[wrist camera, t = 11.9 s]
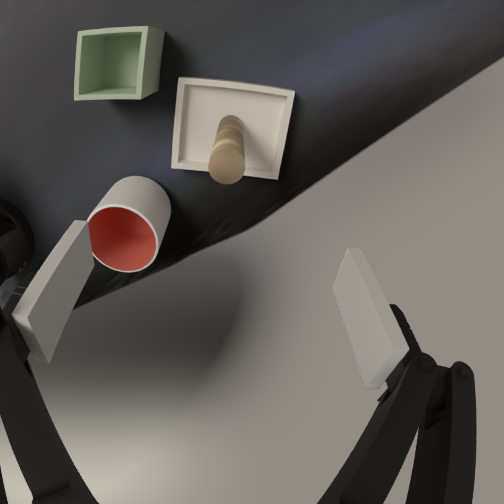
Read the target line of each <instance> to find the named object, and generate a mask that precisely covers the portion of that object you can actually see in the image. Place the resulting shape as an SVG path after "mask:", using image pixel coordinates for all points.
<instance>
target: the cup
mask: <svg viewBox="0 0 504 504" xmlns="http://www.w3.org/2000/svg"><path fill="white" fill-rule="evenodd" d="M170 215H171V205H170V201H169V198H168V196H167V194H166V192H165V191H164V189H163V188H162V187H161V186H160V185H159V184H158V183H156V182H155V181H153V180H151V179H149V178H146V177H142V176H130V177H126V178H123V179H121V180H119V181H118V182H116V183H115V184H114V185H113V186H112V188H111V189H110V190H109V191H108V193H107V194H106V195H105V196H104V198H103V199H102V200H101V201H100V203H99V204H98V205H97V207H96V208H95V209H94V211H93V212H92V213H91V215H90V216H89V217H88V219H87V221H88V227H89V234H90V241H91V248H92V254H93V255H94V256H95V258H96V259H97V260H99V261H100V262H101V263H102V264H104V265H105V266H107V267H109V268H111V269H114V270H117V271H121V272H136V271H140V270H142V269H144V268H146V267H148V266H149V265H150V264H151V263H152V262H153V261H154V260H155V258H156V256H157V254H158V251H159V248H160V245H161V242H162V239H163V236H164V233H165V230H166V228H167V225H168V222H169V219H170Z"/></svg>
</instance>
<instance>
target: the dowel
mask: <svg viewBox="0 0 504 504" xmlns="http://www.w3.org/2000/svg"><path fill="white" fill-rule="evenodd" d="M208 170H209V173H210V175H211V177H212V178H213V179H214V180H215V181H217V182H219V183H222V184H232V183H235V182H237V181H238V180H240V179H241V178H242V176H243V174H244V172H245V154H244V139H243V125H242V122H241V120H240V119H239V118H238V117H237V116H234V115H228V116H225V117H223V118H222V119H221V121H220V123H219V126H218V130H217V134H216V137H215V141H214V145H213V148H212V152H211V156H210V160H209V164H208Z"/></svg>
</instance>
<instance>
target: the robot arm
mask: <svg viewBox="0 0 504 504" xmlns="http://www.w3.org/2000/svg"><path fill="white" fill-rule="evenodd" d="M33 253H34V240H33V235H32V232H31V230H30V227H29V225H28V223H27V222H26V220H25V218H24V217H23V216H22V214H21V213H20V212H19V211H18V210H17V209H16V208H15V207H14V206H13V205H11V204H10V203H8V202H7V201H5V200H2V199H0V286H1V285H2V283H3V282H4V281H5V280H7V279H8V278H10V277H11V276H13V275H15V274H16V273H18V272H19V271H21V270H22V269H24V268H25V267H26V265H27V264H28V262H29V261H30V260H31V258H32V256H33ZM93 267H94V260H93V254H92V248H91V241H90V234H89V227H88V221H78V220H74V222H73V223H72V224H71V226H70V227H69V228H68V230H67V231H66V232H65V234H64V235H63V236H62V238H61V239H60V240H59V242H58V243H57V245H56V246H55V247H54V249H53V250H52V252H51V253H50V255H49V256H48V257H47V259H46V260H45V262H44V263H43V265H42V266H41V268H40V269H39V271H38V272H34V271H31V272H30V273H28V274H27V275H26V276H25V277H23V279H22V280H21V282H20V283H19V285H18V287H17V288H16V289H15V291H14V294H12V296H11V297H10V299H9V300H8V302H7V304H6V305H5V307H4V308H3V310H2V309H1V307H0V415H1V418H2V421H3V424H4V427H5V430H6V433H7V436H8V439H9V442H10V444H11V447H12V450H13V452H14V455H15V457H16V460H17V462H18V464H19V467H20V469H21V471H22V473H23V476H24V478H25V480H26V482H27V485H28V487H29V489H30V491H31V492H32V495H33V501H32V504H99V503H98V502H97V501H96V499H95V498H94V496H93V495H92V493H91V492H90V490H89V489H88V487H87V485H86V484H85V482H84V481H83V479H82V477H81V476H80V474H79V472H78V470H77V469H76V467H75V465H74V463H73V461H72V460H71V458H70V456H69V454H68V452H67V451H66V448H65V446H64V444H63V443H62V440H61V439H60V436H59V434H58V432H57V430H56V428H55V426H54V424H53V422H52V419H51V417H50V415H49V413H48V410H47V408H46V406H45V403H44V401H43V398H42V396H41V394H40V391H39V388H38V386H37V383H36V380H35V378H34V375H33V372H32V370H31V366H30V364H29V362H28V360H27V357H28V355H29V353H30V352H31V354H32V356H33V358H34V360H37V361H40V362H44V363H48V364H49V363H50V361H51V358H52V356H53V353H54V350H55V348H56V346H57V343H58V341H59V339H60V336H61V334H62V332H63V329H64V327H65V325H66V323H67V320H68V318H69V316H70V314H71V312H72V310H73V307H74V305H75V303H76V301H77V299H78V297H79V295H80V293H81V291H82V289H83V287H84V285H85V283H86V281H87V279H88V277H89V275H90V273H91V271H92V269H93ZM332 290H333V292H334V295H335V298H336V301H337V304H338V307H339V310H340V313H341V316H342V319H343V322H344V325H345V328H346V331H347V334H348V337H349V341H350V344H351V347H352V350H353V353H354V357H355V360H356V363H357V366H358V370H359V373H360V377H361V380H362V383H363V387H364V389H365V390H366V389H378V388H380V387H381V386H382V385H383V383H384V382H385V381H386V383H387V386H388V388H387V390H386V391H385V392H384V393H383V394H382V396H381V397H380V398H379V399H378V401H380V402H379V404H378V406H377V408H376V410H375V412H374V414H373V416H372V418H371V419H370V421H369V423H368V425H367V426H366V428H365V430H364V432H363V434H362V435H361V437H360V439H359V440H358V442H357V444H356V446H355V448H354V449H353V451H352V452H351V454H350V455H349V457H348V459H347V460H346V462H345V464H344V465H343V467H342V468H341V470H340V471H339V473H338V474H337V476H336V477H335V479H334V481H333V482H332V483H331V485H330V486H329V488H328V489H327V491H326V492H325V493H324V495H323V496H322V498H321V499H320V500H319V502H318V503H317V504H383V503H384V501H385V499H386V497H387V495H388V493H389V491H390V490H391V488H392V486H393V484H394V482H395V480H396V477H397V476H398V474H399V471H400V469H401V467H402V465H403V463H404V460H405V458H406V456H407V454H408V451H409V449H410V447H411V445H412V442H413V440H414V437H415V435H416V432H417V430H418V427H419V430H418V438H417V445H416V451H415V458H414V464H413V469H412V475H411V481H410V485H409V490H408V495H407V499H406V503H405V504H472V498H473V490H474V479H475V465H476V396H475V382H474V374H473V371H472V370H471V368H470V367H469V366H468V365H467V364H465V363H464V362H460V361H457V362H455V363H454V364H453V365H452V366H451V367H450V368H447V367H443V366H439V365H437V364H436V362H435V360H434V359H433V358H432V357H431V356H429V355H428V354H426V353H422V351H421V349H420V347H419V345H418V343H417V341H416V339H415V337H414V334H413V332H412V330H411V329H410V326H409V324H408V322H407V320H406V318H405V316H404V314H403V312H402V311H401V310H400V309H399V308H398V307H397V306H396V305H395V304H388V301H387V299H386V297H385V295H384V293H383V291H382V289H381V287H380V285H379V284H378V281H377V279H376V277H375V276H374V274H373V272H372V270H371V268H370V266H369V264H368V262H367V260H366V258H365V256H364V254H363V253H362V251H361V249H357V248H349V247H347V250H346V252H345V255H344V258H343V260H342V263H341V266H340V269H339V271H338V274H337V276H336V279H335V282H334V284H333V287H332ZM0 504H8V501H7V497H6V493H5V488H4V483H3V479H2V473H1V467H0Z"/></svg>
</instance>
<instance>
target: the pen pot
mask: <svg viewBox="0 0 504 504" xmlns="http://www.w3.org/2000/svg"><path fill="white" fill-rule="evenodd" d="M164 35H165V31H163V30H160V29H157V28H153V27H149V26H137V27H118V28H105V29H94V30H86V31H78V38H77V49H76V63H75V84H74V100H95V99H143V98H145V97H147V96H149V95H151V94H153V93H155V92H157V91H158V90H159V79H160V69H161V60H162V51H163V43H164Z"/></svg>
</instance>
